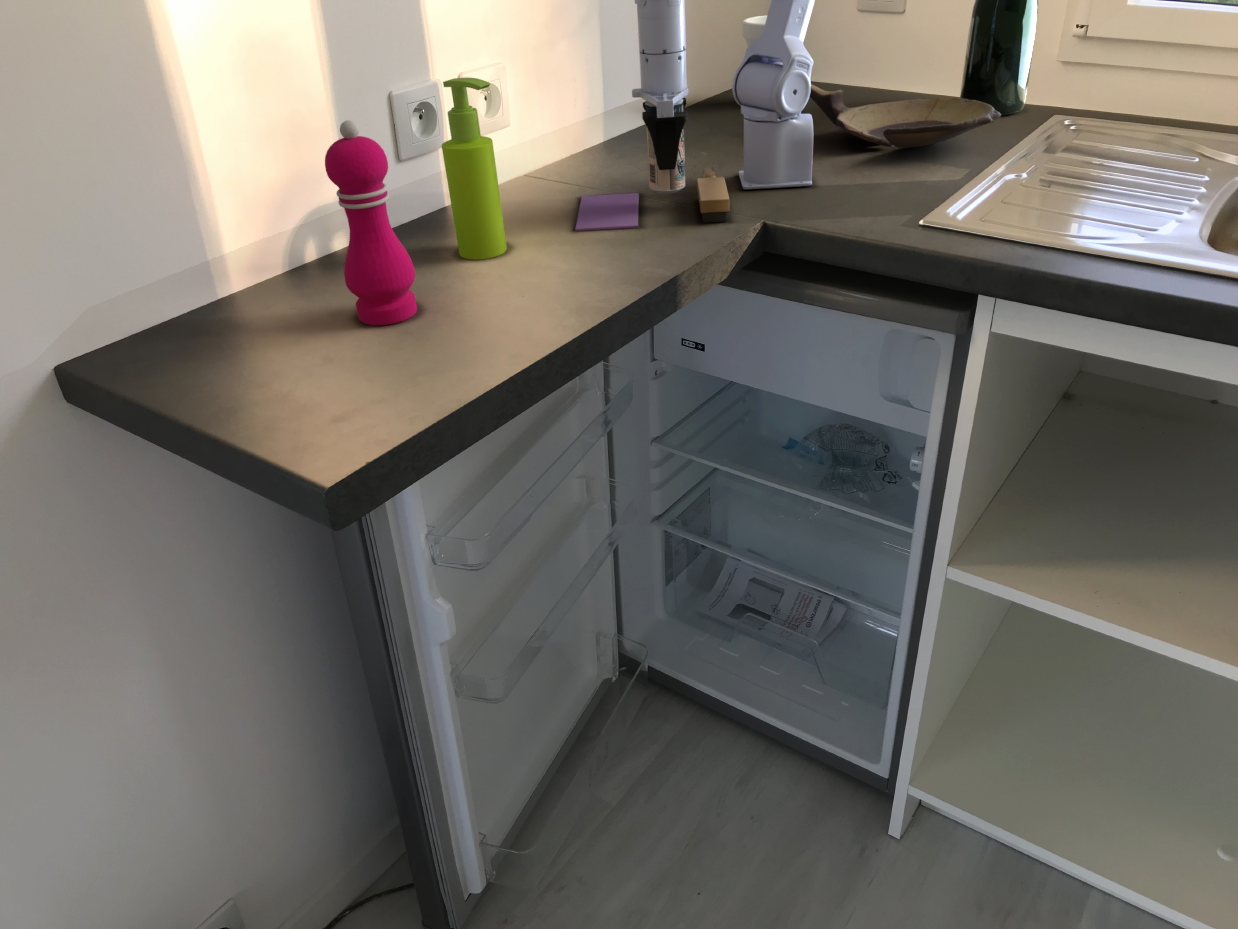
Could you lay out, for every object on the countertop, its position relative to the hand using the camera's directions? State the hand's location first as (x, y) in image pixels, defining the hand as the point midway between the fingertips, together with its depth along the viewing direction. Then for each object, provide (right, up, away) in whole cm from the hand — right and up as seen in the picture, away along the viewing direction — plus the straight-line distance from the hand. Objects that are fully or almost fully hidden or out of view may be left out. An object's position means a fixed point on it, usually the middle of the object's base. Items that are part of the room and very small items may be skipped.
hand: (666, 163), depth 122 cm
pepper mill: (-31, -23, -21) cm, 44 cm away
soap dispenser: (-23, -13, -6) cm, 27 cm away
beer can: (0, -3, +2) cm, 4 cm away
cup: (+22, +28, +53) cm, 64 cm away
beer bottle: (+57, +21, +37) cm, 71 cm away
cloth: (-8, -5, +4) cm, 10 cm away
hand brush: (+6, -4, +4) cm, 8 cm away
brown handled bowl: (+37, +11, +25) cm, 46 cm away
